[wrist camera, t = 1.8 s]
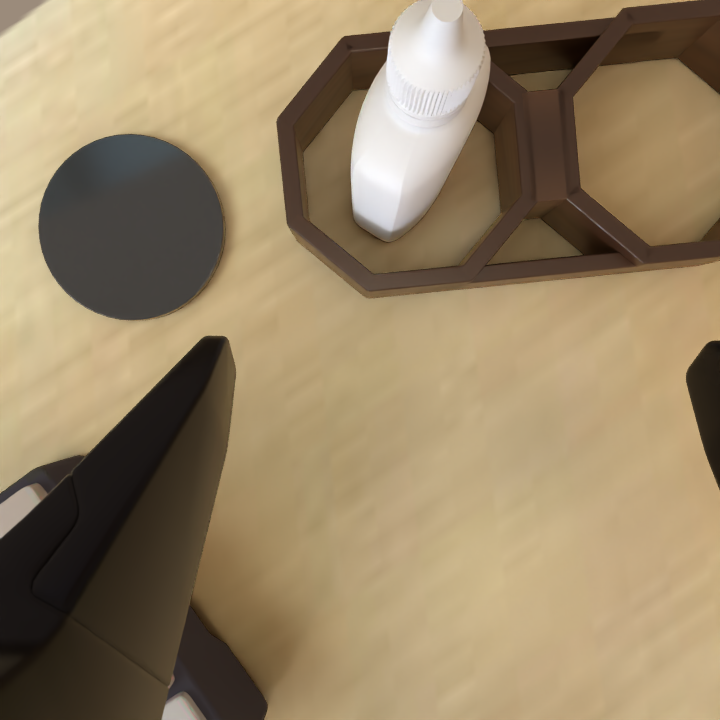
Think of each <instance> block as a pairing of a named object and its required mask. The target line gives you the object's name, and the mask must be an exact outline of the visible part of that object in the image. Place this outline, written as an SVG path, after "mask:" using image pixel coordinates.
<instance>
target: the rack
mask: <svg viewBox="0 0 720 720" xmlns="http://www.w3.org/2000/svg"><path fill="white" fill-rule="evenodd" d="M483 33H484V35H485V37H484V39H485V40H486V41H485V44H486V46H487V47H488V49H489V53H490V58H491V61H490V74H489V81H488V86H487V91H486V94H485V98H484V101H483V104H482V107H481V110H480V113H479V115H478V118H477V120H478V121H479V122H481V123H482V124H483V125H484V126H485V127H487V128H488V129H489V130H490V131H491V132H493V133H494V139H495V150H496V161H497V172H498V183H499V194H500V206H501V214H500V215H499V217H498V218H497V219H496V220H495V221H494V223H493V224H492V225H491V226H490V228H489V229H488V230H487V231H486V232H485V234H484V235H483V236H482V237H481V238H480V240H479V241H478V242H477V243H476V245H475V246H474V247H473V248H472V249H471V251H470V252H469V253H468V254H467V256H466V257H465V258H464V259H463V260H462V262H461V263H460V264H459V265H458V266H451V267H441V268H431V269H421V270H411V271H401V272H391V273H381V274H373V273H371V272H370V271H369V270H368V269H367V268H365V267H364V266H363V265H362V264H361V263H359V262H358V261H357V260H356V259H354V258H353V257H352V256H351V255H350V254H348V253H347V252H346V251H345V250H344V249H342V248H341V247H340V246H339V245H337V244H336V243H335V242H334V241H333V240H331V239H330V238H329V237H328V236H327V235H325V234H324V233H323V232H322V231H321V230H319V229H318V228H317V227H316V226H314V225H313V224H312V223H311V222H310V221H309V212H308V202H307V192H306V182H305V173H304V163H303V153H302V152H303V151H304V150H305V149H306V147H307V146H308V145H309V144H310V143H311V141H312V140H313V139H314V138H315V136H316V135H317V134H318V133H319V131H320V130H321V129H322V128H323V126H324V125H325V124H326V123H327V121H328V120H329V119H330V118H331V116H332V115H333V114H334V113H335V111H336V110H337V109H338V108H339V107H340V105H341V104H342V103H343V102H344V100H345V99H346V98H347V97H348V95H349V94H350V93H351V92H352V90H358V89H368V88H370V86H371V84H372V83H373V81H374V79H375V77H376V75H377V74H378V72H379V71H380V69H381V68H382V66H383V65H384V64H385V62H386V61H387V55H388V44H389V36H390V35H391V32H381V33H371V34H361V35H351V36H344V37H343V38H341V40H340V41H339V42H338V43H337V45H336V46H335V47H334V48H333V50H332V51H331V52H330V53H329V55H328V56H327V57H326V58H325V60H324V61H323V62H322V63H321V65H320V66H319V67H318V68H317V70H316V71H315V72H314V73H313V75H312V76H311V77H310V78H309V80H308V81H307V82H306V83H305V85H304V86H303V87H302V88H301V90H300V91H299V92H298V93H297V95H296V96H295V97H294V98H293V99H292V101H291V102H290V103H289V104H288V106H287V107H286V108H285V109H284V111H283V112H282V113H281V114H280V116H279V117H278V118H277V122H276V123H277V132H278V142H279V152H280V161H281V171H282V181H283V191H284V200H285V210H286V220H287V224H288V227H289V228H290V230H291V231H292V233H293V235H294V236H295V238H296V240H297V241H298V242H299V243H300V244H301V245H302V246H304V247H305V248H306V249H307V250H309V251H310V252H311V253H312V254H313V255H315V256H316V257H317V258H318V259H320V260H321V261H322V262H323V263H324V264H326V265H327V266H328V267H329V268H330V269H332V270H333V271H334V272H335V273H337V274H338V275H339V276H340V277H341V278H343V279H344V280H345V281H346V282H347V283H349V284H350V285H351V286H352V287H354V288H355V289H356V290H357V291H358V292H360V293H361V294H362V295H363V296H364V297H366V298H378V297H388V296H398V295H408V294H418V293H428V292H438V291H449V290H459V289H469V288H479V287H489V286H499V285H509V284H519V283H529V282H539V281H549V280H559V279H569V278H579V277H589V276H599V275H609V274H619V273H630V272H640V271H650V270H660V269H670V268H680V267H690V266H699V265H703V264H708V263H712V262H716V261H720V218H719V220H718V221H717V222H716V223H715V224H714V226H713V227H712V228H711V229H710V230H709V232H708V233H707V234H706V235H705V236H704V238H703V239H702V240H701V241H700V242H691V243H681V244H671V245H661V246H651V247H650V246H649V245H648V244H646V243H645V242H644V241H643V240H642V239H640V238H639V237H638V236H637V235H636V234H634V233H633V232H632V231H631V230H630V229H628V228H627V227H626V226H625V225H624V224H622V223H621V222H620V221H619V220H618V219H617V218H615V217H614V216H613V215H612V214H611V213H609V212H608V211H607V210H606V209H605V208H603V207H602V206H601V205H600V204H599V203H597V202H596V201H595V200H594V199H593V198H591V197H590V196H589V195H588V194H587V193H585V192H584V191H583V190H582V189H581V188H580V176H579V165H578V153H577V141H576V129H575V117H574V105H573V96H574V95H575V94H576V93H577V92H578V90H579V89H580V88H581V87H582V85H583V84H584V83H585V82H586V81H587V79H588V78H589V77H590V76H591V74H592V73H593V72H594V71H595V70H596V68H597V67H598V66H599V65H609V64H619V63H629V62H637V61H645V60H655V59H665V58H675V57H677V58H678V59H680V60H681V61H682V62H683V63H684V64H686V65H687V66H688V67H689V68H690V69H691V70H693V71H694V72H695V73H696V74H697V75H698V76H700V77H701V78H702V79H703V80H704V81H706V82H707V83H708V84H709V85H710V86H711V87H713V88H714V89H715V90H716V91H717V92H719V93H720V0H697V1H687V2H677V3H668V4H658V5H648V6H638V7H628V8H623V9H622V10H621V11H620V13H619V14H618V15H617V16H616V17H615V18H605V19H595V20H585V21H576V22H566V23H556V24H546V25H536V26H526V27H516V28H506V29H496V30H487V31H483ZM570 68H574V69H573V70H572V71H571V72H570V74H569V75H568V76H567V77H566V78H565V80H564V81H563V82H562V83H561V85H560V86H559V87H558V88H557V89H551V90H541V91H531V92H527V91H526V90H525V89H524V88H523V87H521V86H520V85H519V84H518V83H517V82H515V81H514V80H513V79H512V78H511V77H510V76H508V75H510V74H520V73H530V72H540V71H550V70H560V69H570ZM534 218H541V219H542V220H544V221H545V222H546V223H547V224H548V225H550V226H551V227H552V228H553V229H554V230H556V231H557V232H558V233H559V234H560V235H562V236H563V237H564V238H565V239H566V240H568V241H569V242H570V243H571V244H572V245H574V246H575V247H576V248H577V249H578V250H580V251H581V252H582V253H583V254H584V255H581V256H571V257H561V258H551V259H541V260H531V261H521V262H511V263H501V264H491V265H486V264H487V263H488V262H489V261H490V259H491V258H492V257H493V256H494V255H495V253H496V252H497V251H498V250H499V248H500V247H501V246H502V245H503V244H504V242H505V241H506V240H507V239H508V238H509V236H510V235H511V234H512V233H513V231H514V230H515V229H516V228H517V227H518V225H519V224H520V223H521V222H522V221H523V220H524V219H534Z"/></svg>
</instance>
